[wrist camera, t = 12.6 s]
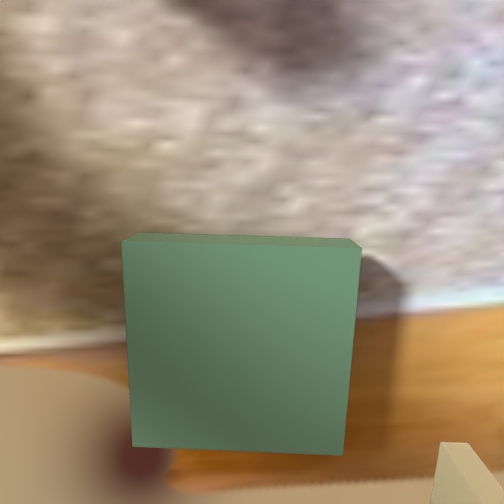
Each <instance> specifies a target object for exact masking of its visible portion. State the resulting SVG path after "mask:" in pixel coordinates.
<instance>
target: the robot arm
mask: <svg viewBox="0 0 504 504" xmlns="http://www.w3.org/2000/svg"><path fill="white" fill-rule="evenodd" d="M430 504H504V489H503V488H502V487H501V486H500V484H499V483H498V482H497V480H496V479H495V478H494V476H493V475H492V474H491V472H490V471H489V470H488V468H487V467H486V466H485V465H484V463H483V462H482V461H481V459H480V458H479V457H478V455H477V454H476V453H475V451H474V450H473V449H472V448H471V446H470V445H469V444H468V443H459V442H441V443H440V448H439V454H438V460H437V466H436V472H435V478H434V484H433V490H432V496H431V501H430Z"/></svg>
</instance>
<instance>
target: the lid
mask: <svg viewBox="0 0 504 504" xmlns="http://www.w3.org/2000/svg"><path fill="white" fill-rule="evenodd" d="M121 246H122V264H123V283H124V301H125V319H126V337H127V355H128V373H129V391H130V409H131V426H132V445H133V447H156V448H157V447H158V448H178V449H201V450H224V451H246V452H269V453H292V454H315V455H337V456H343V449H344V438H345V427H346V416H347V405H348V394H349V383H350V373H351V362H352V351H353V340H354V329H355V318H356V307H357V296H358V285H359V274H360V263H361V253H362V248H361V247H360V246H358V245H357V244H356V243H355V242H353V241H352V240H351V239H346V238H312V237H277V236H243V235H208V234H174V233H137V234H135V235H133V236H131V237H128V238H126V239H124V240H122V241H121Z"/></svg>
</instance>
